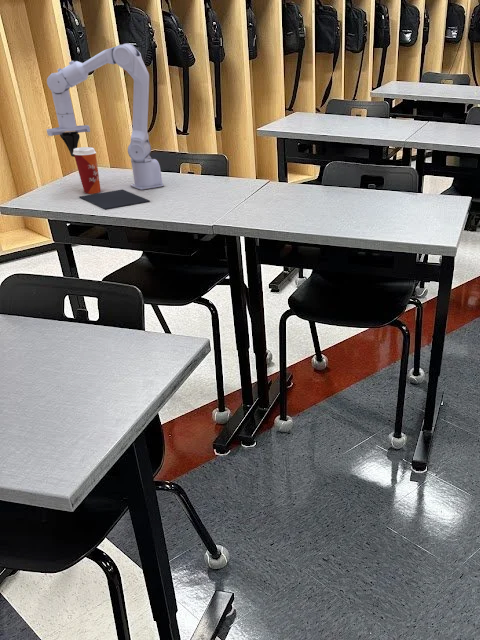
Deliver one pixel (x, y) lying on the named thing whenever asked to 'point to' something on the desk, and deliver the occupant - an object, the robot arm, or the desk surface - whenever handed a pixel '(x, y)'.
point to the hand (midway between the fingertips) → (74, 156)
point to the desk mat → (114, 199)
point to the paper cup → (87, 169)
